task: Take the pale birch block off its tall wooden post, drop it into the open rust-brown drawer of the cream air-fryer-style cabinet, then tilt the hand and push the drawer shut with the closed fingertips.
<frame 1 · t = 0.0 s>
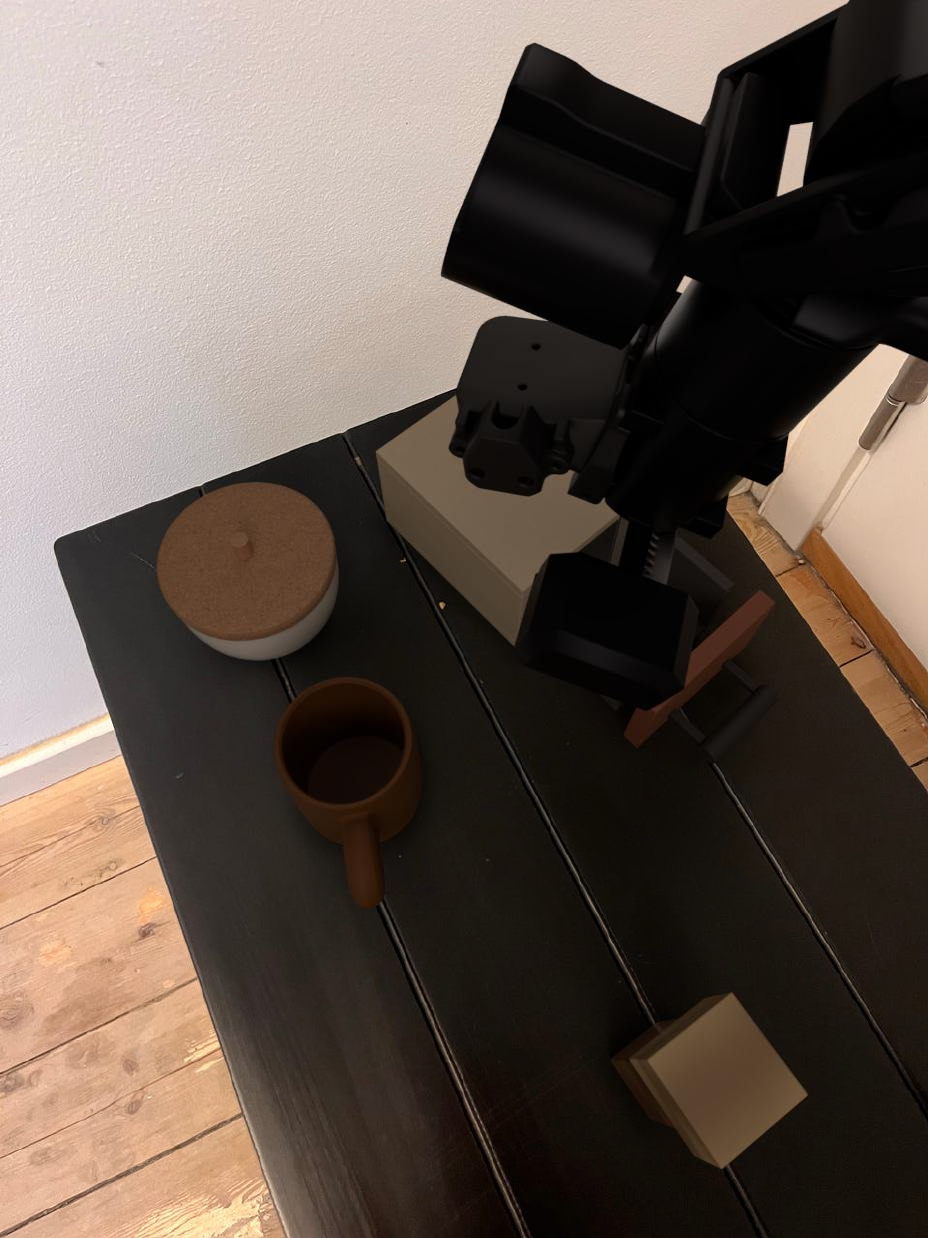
hand: (573, 564, 44), 15 cm above the table, tool pointing down, fingers open, 9 cm apart
drawer: (652, 629, 54), point 4 cm above the table, slide at 9.0 cm
trinket box: (272, 613, 60), on the table
cabinet: (509, 534, 62), on the table
mug: (368, 824, 53), on the table
block: (700, 1074, 38), point 10 cm above the table, touching post
post: (654, 1069, 47), on the table
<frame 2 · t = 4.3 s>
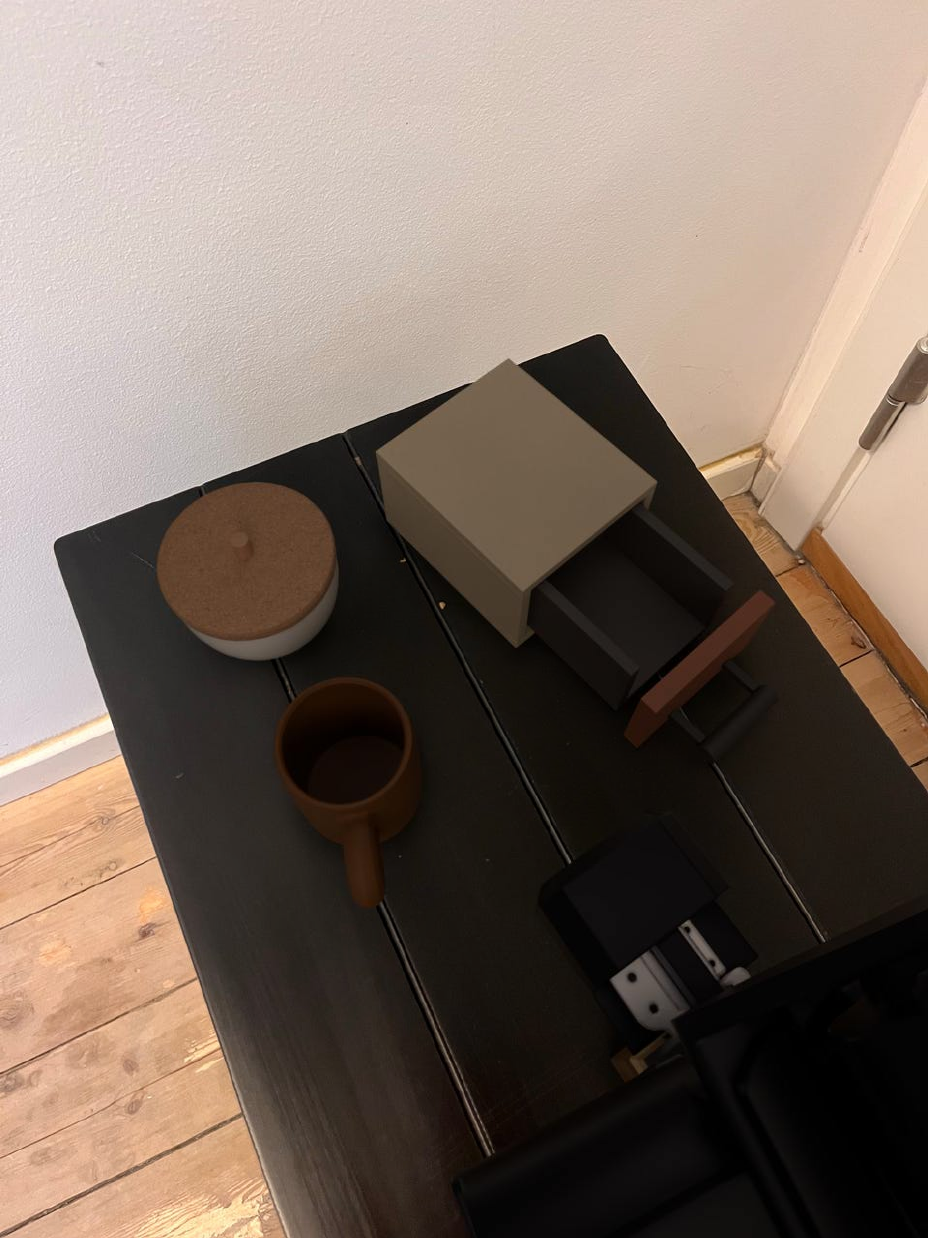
hand: (703, 1074, 37), 11 cm above the table, tool pointing down, fingers closed on block, 4 cm apart
block: (700, 1074, 38), point 10 cm above the table, touching gripper, post
everything else where it was.
when the fingers open (8 cm above the table, at t = 8.8 s): block drops 5 cm, resting on drawer.
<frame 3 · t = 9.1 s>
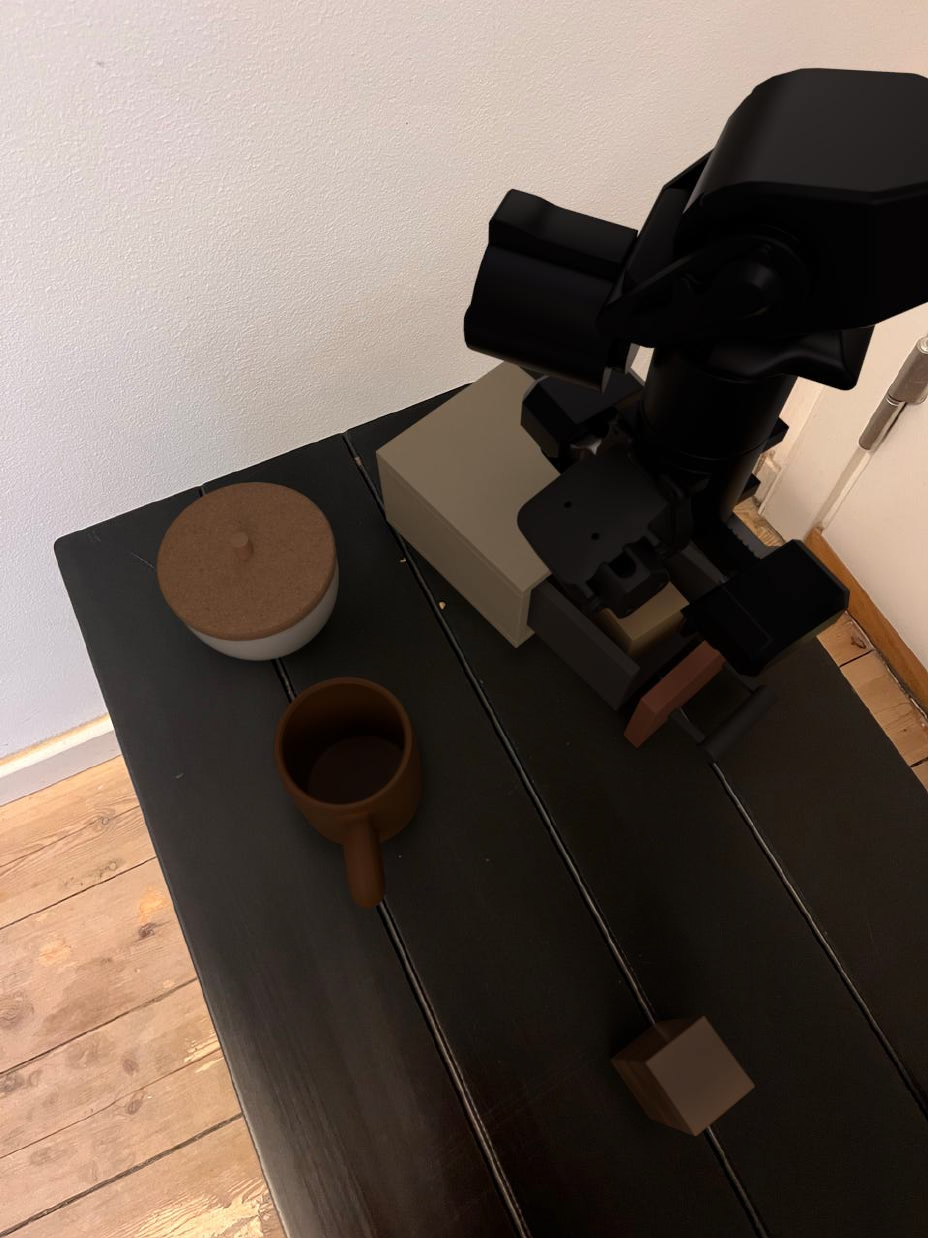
hand: (643, 580, 51), 8 cm above the table, tool pointing down, fingers open, 8 cm apart
drawer: (652, 629, 54), point 4 cm above the table, slide at 9.0 cm, touching block
block: (626, 626, 57), point 2 cm above the table, touching drawer
everything else where it was.
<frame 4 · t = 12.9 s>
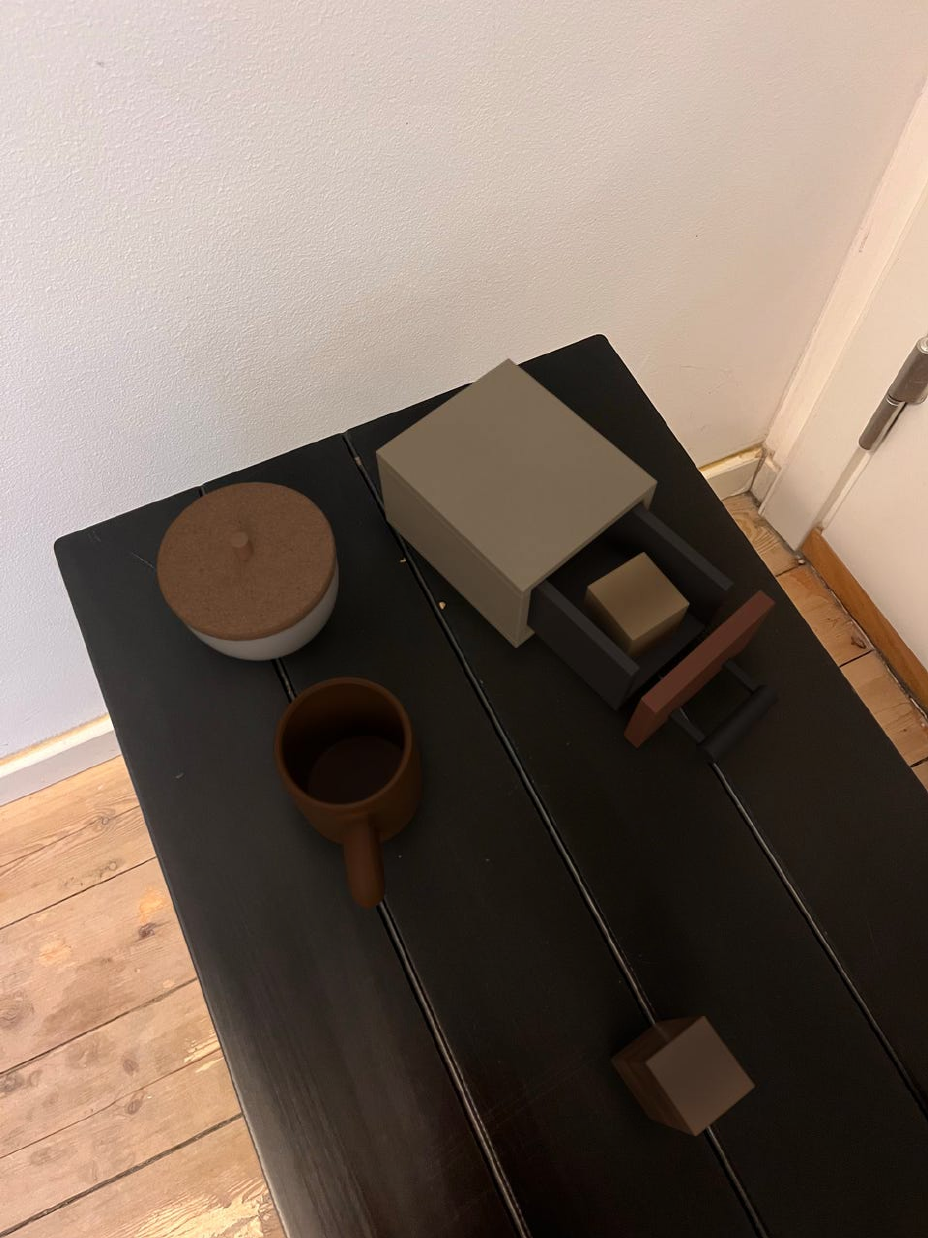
nothing on the table moved.
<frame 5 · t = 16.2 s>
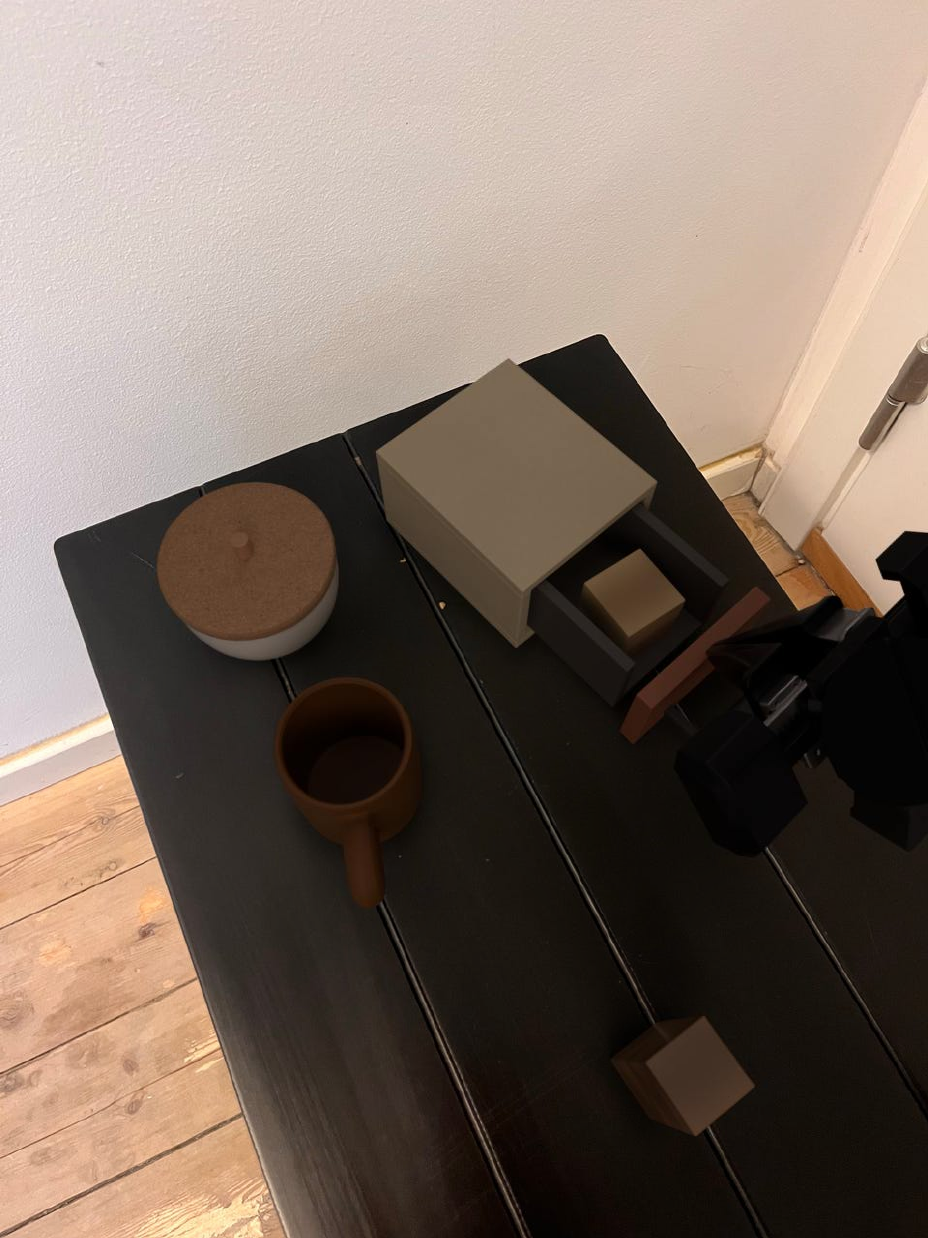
hand: (712, 653, 50), 7 cm above the table, tool tilted 45°, fingers closed, pressing on drawer
drawer: (648, 626, 54), point 4 cm above the table, slide at 8.7 cm, touching block, gripper
everything else where it was.
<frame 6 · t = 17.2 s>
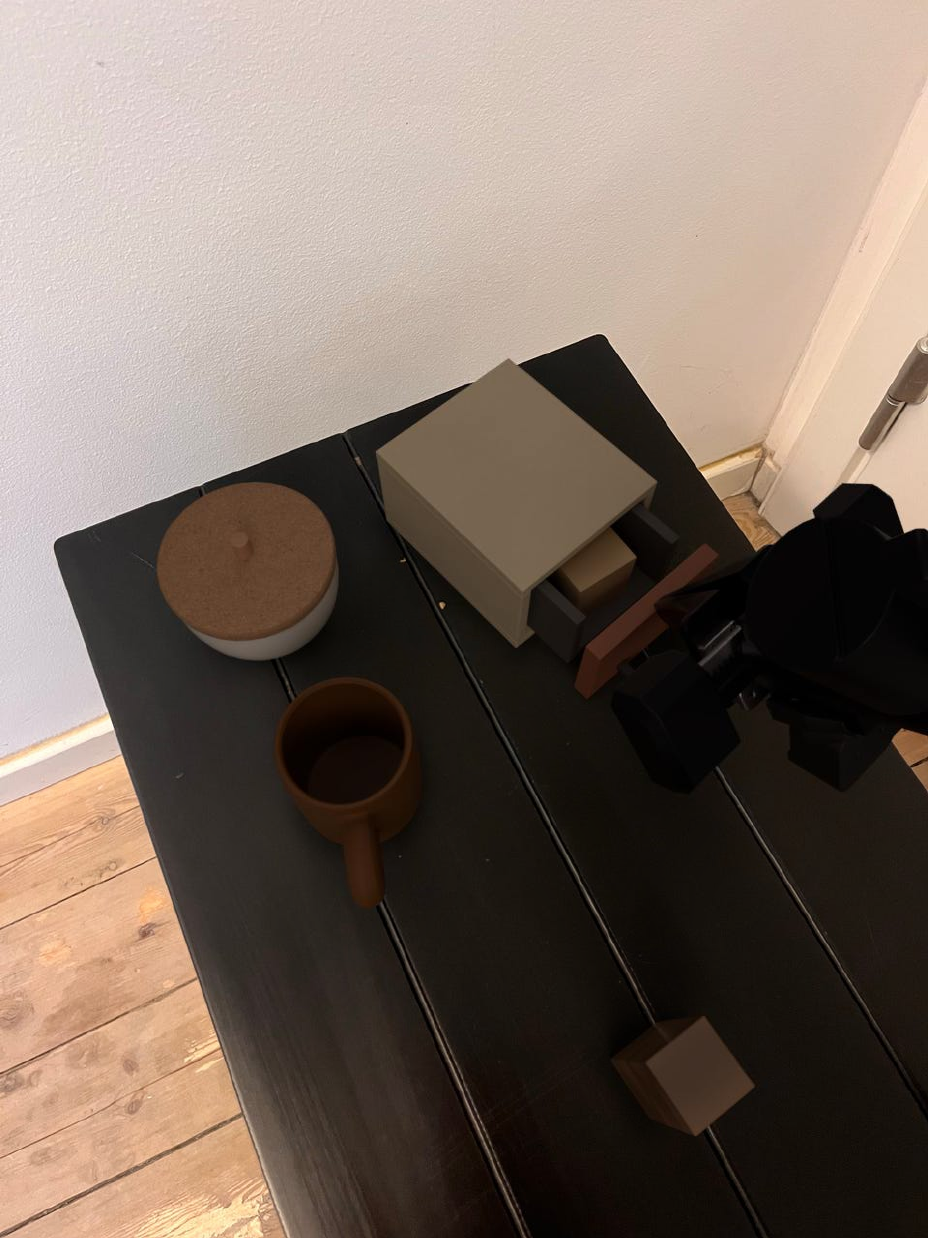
hand: (660, 607, 51), 7 cm above the table, tool tilted 45°, fingers closed, pressing on drawer
drawer: (602, 583, 56), point 4 cm above the table, slide at 4.7 cm, touching block, gripper
block: (579, 582, 58), point 2 cm above the table, touching drawer
everything else where it was.
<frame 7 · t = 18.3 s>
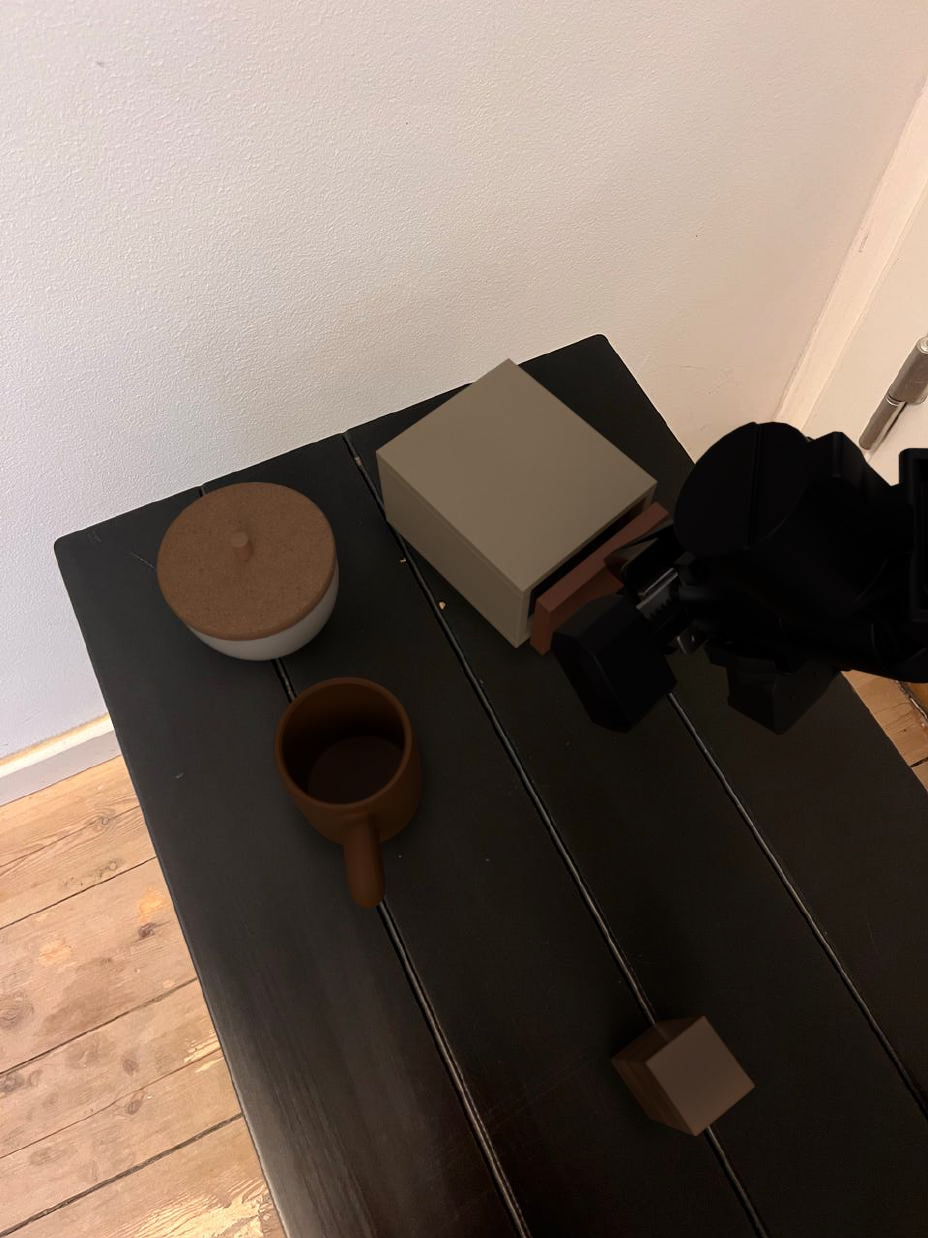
hand: (610, 562, 53), 7 cm above the table, tool tilted 45°, fingers closed, pressing on drawer
drawer: (557, 543, 57), point 4 cm above the table, slide at 0.6 cm, touching block, gripper
block: (536, 543, 59), point 2 cm above the table, touching drawer
everything else where it was.
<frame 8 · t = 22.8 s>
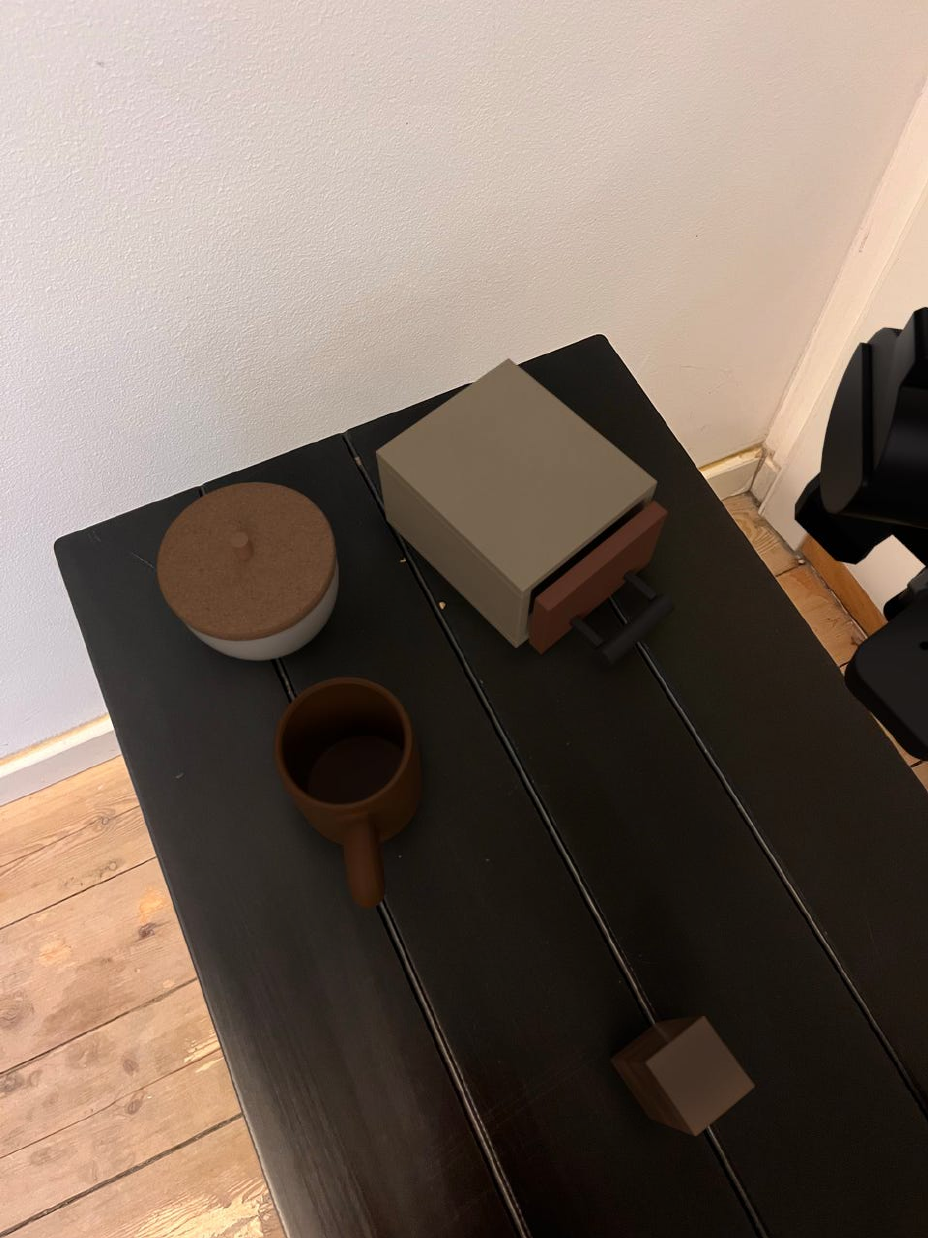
hand: (915, 697, 43), 13 cm above the table, tool pointing down, fingers closed
drawer: (555, 541, 57), point 4 cm above the table, slide at 0.5 cm, touching block
everything else where it was.
at the end: drawer slide at 0.5 cm; block inside the target area in the cabinet (2.5 cm from its centre), point 2.0 cm above the cabinet's base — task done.
